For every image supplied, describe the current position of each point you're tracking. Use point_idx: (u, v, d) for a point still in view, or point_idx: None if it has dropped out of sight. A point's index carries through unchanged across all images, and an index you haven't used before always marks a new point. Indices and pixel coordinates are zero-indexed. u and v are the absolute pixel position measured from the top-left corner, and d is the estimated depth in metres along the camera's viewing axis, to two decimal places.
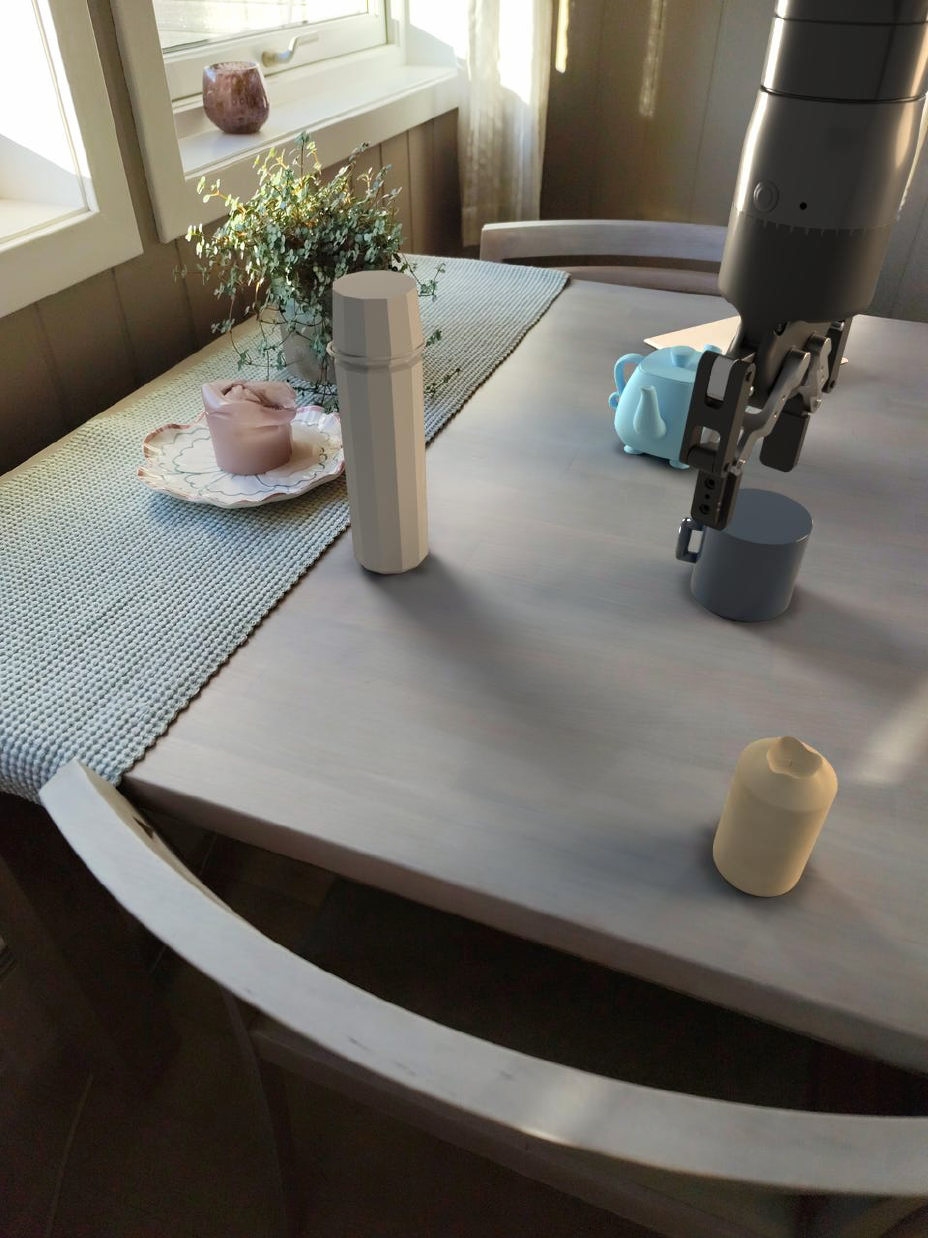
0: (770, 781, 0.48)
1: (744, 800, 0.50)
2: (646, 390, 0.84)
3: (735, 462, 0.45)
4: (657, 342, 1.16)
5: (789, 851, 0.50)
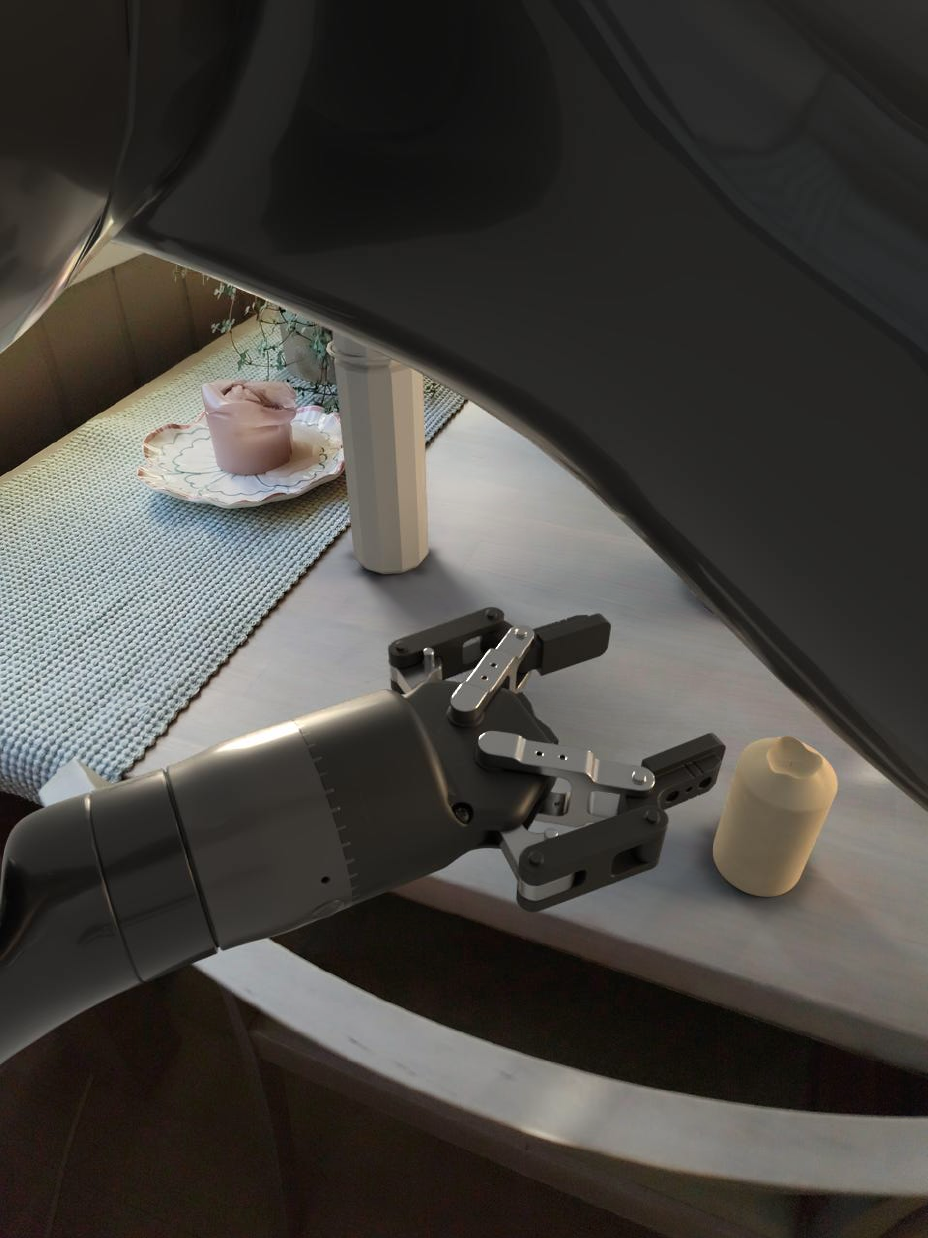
0: (770, 781, 0.48)
1: (744, 800, 0.50)
2: None
3: (639, 791, 0.33)
4: None
5: (789, 851, 0.50)
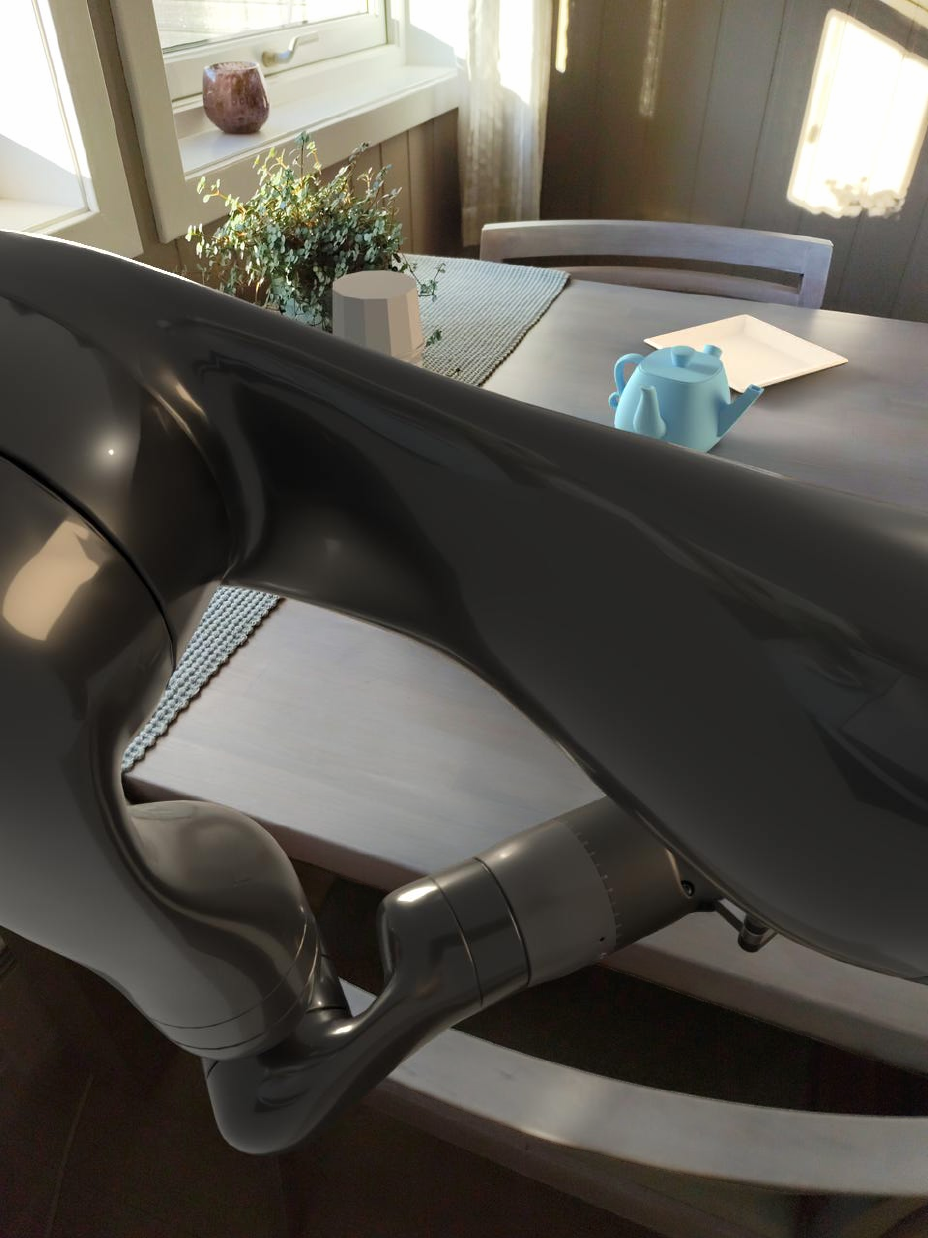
0: None
1: None
2: (646, 390, 0.84)
3: None
4: (657, 342, 1.16)
5: None
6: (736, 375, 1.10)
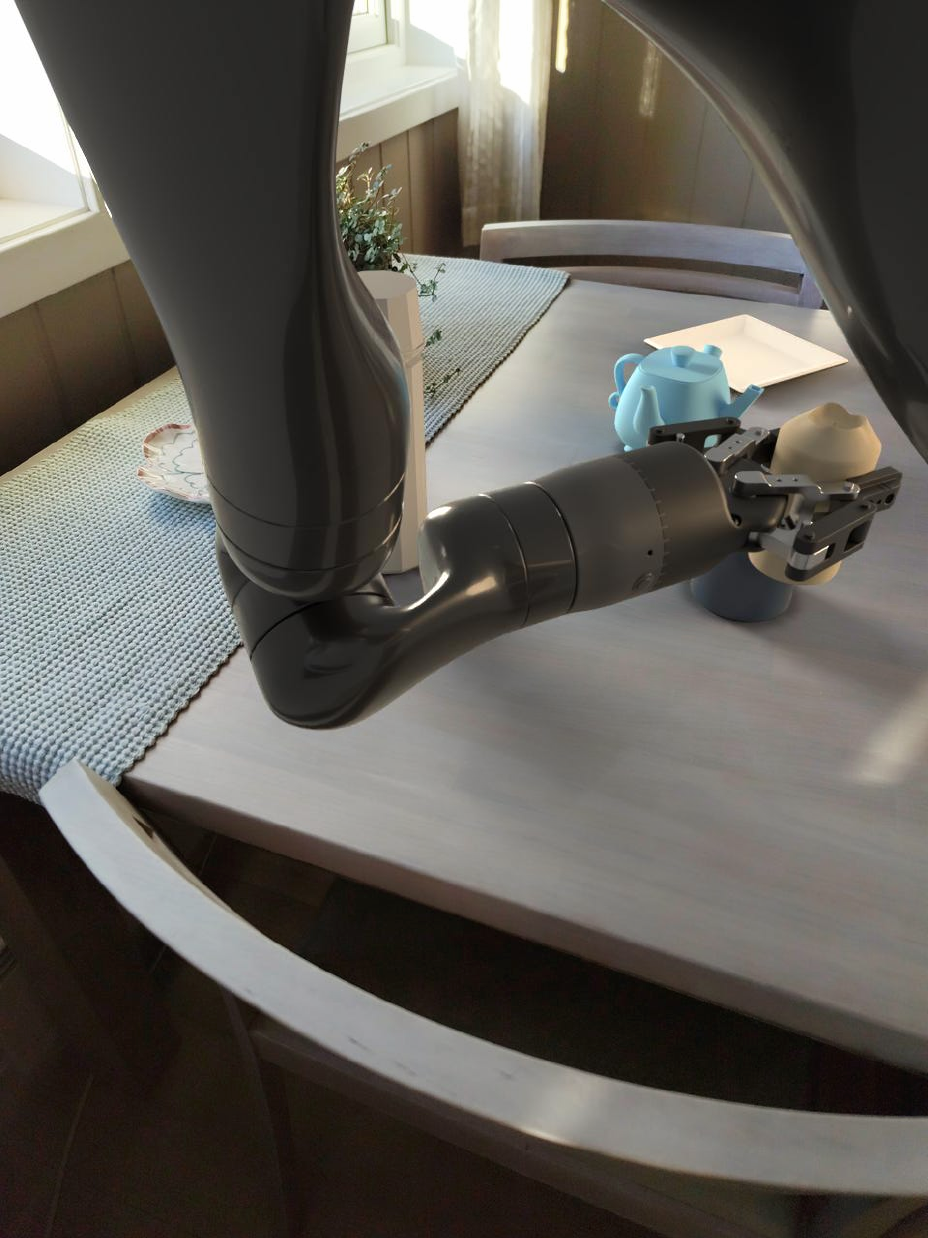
0: (814, 436, 0.48)
1: (787, 465, 0.49)
2: (646, 390, 0.84)
3: (853, 494, 0.46)
4: (657, 342, 1.16)
5: None
6: (736, 375, 1.10)
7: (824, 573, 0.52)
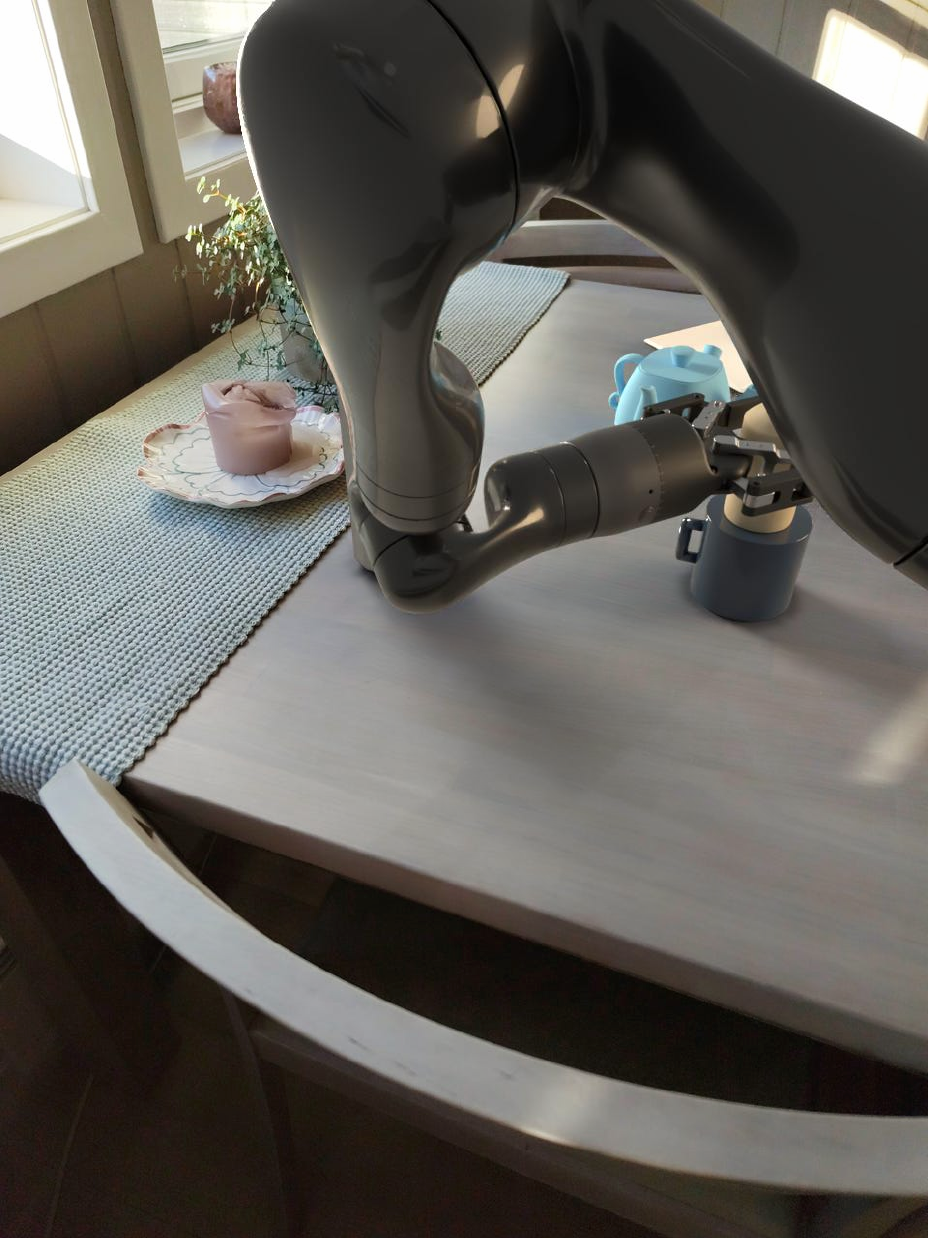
0: (768, 419, 0.65)
1: None
2: (646, 390, 0.84)
3: None
4: (657, 342, 1.16)
5: None
6: (736, 375, 1.10)
7: (780, 523, 0.69)
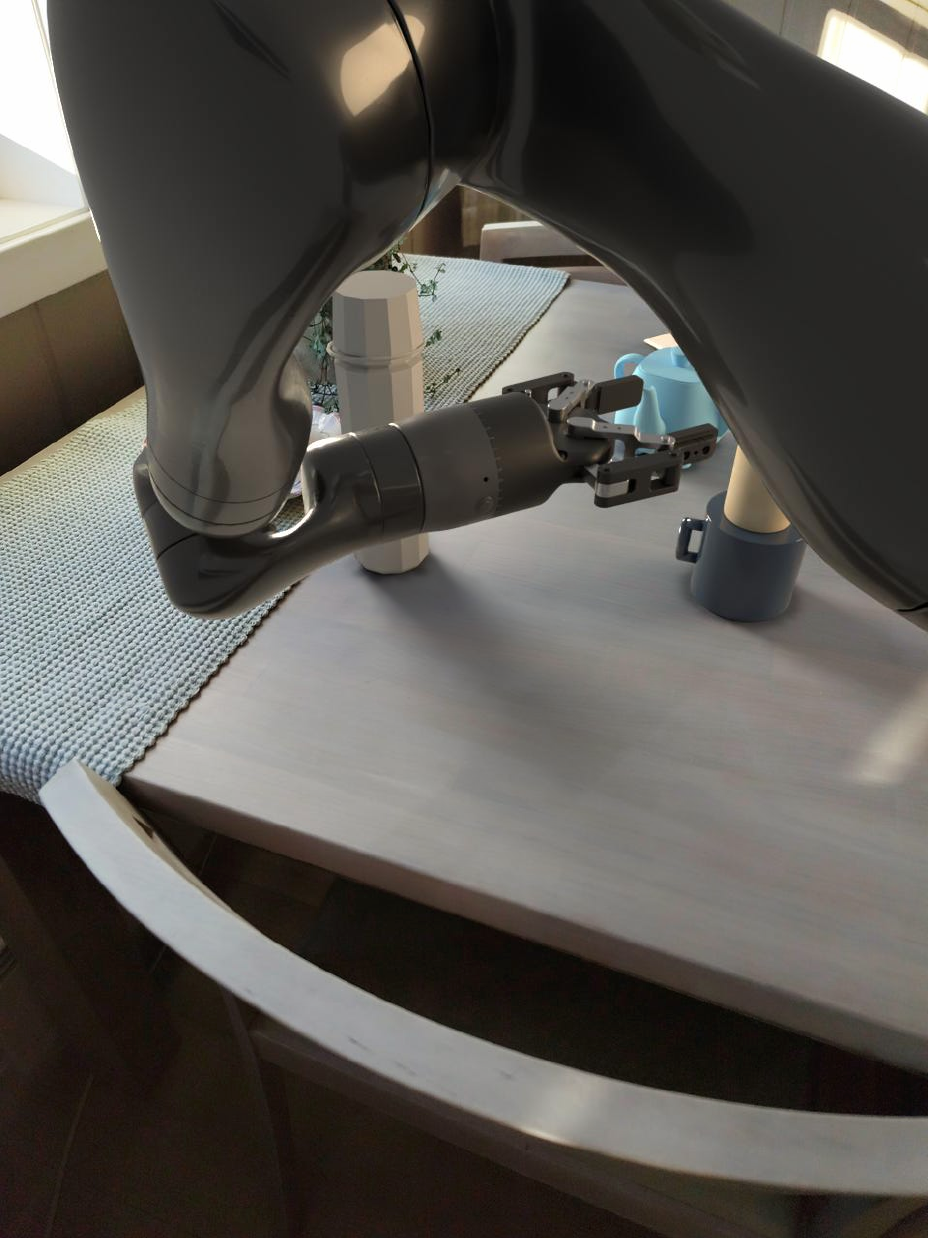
0: None
1: None
2: (646, 390, 0.84)
3: (666, 445, 0.55)
4: (657, 342, 1.16)
5: None
6: None
7: (780, 523, 0.69)
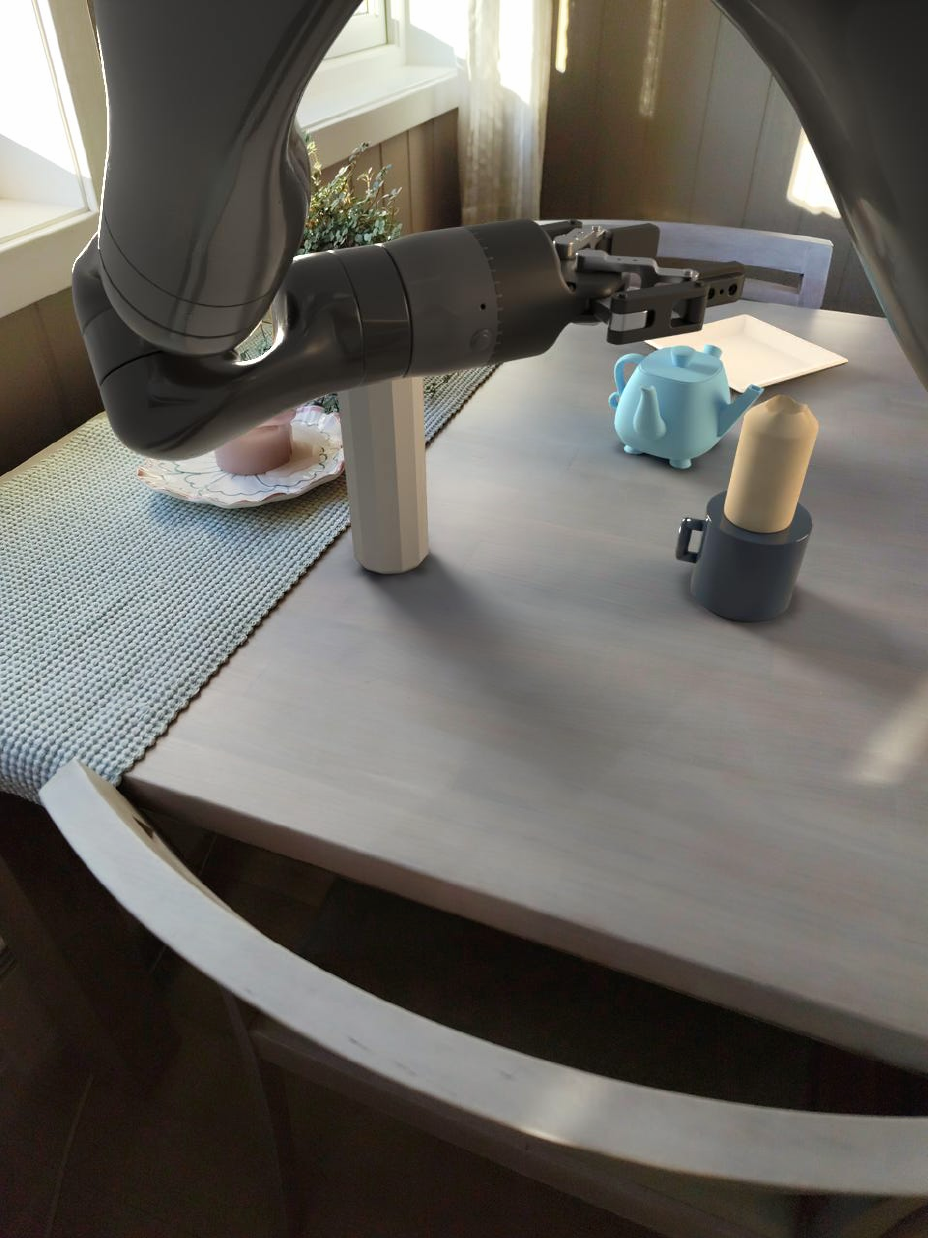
0: (768, 419, 0.65)
1: (749, 441, 0.66)
2: (646, 390, 0.84)
3: (688, 278, 0.48)
4: (657, 342, 1.16)
5: (783, 481, 0.67)
6: (736, 375, 1.10)
7: (780, 523, 0.69)
